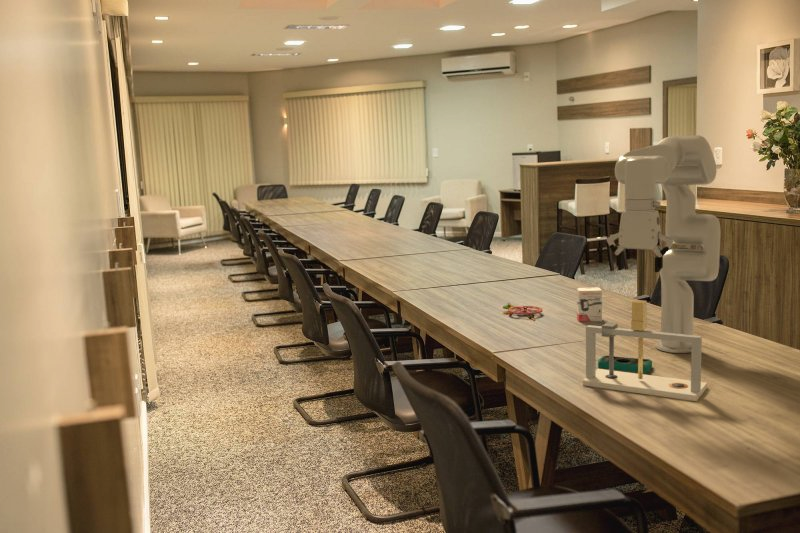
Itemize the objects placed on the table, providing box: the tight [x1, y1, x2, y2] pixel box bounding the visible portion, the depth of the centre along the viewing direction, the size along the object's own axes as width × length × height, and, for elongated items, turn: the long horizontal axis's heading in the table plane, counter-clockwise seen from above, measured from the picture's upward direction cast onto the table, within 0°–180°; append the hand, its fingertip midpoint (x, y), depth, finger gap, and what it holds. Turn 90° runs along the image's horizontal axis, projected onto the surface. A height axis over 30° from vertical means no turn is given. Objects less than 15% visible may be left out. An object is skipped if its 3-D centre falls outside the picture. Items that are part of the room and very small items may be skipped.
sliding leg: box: [630, 299, 648, 379], centre depth 212 cm, size 4×3×22 cm
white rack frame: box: [582, 321, 708, 402], centre depth 213 cm, size 12×30×17 cm, turn 57°
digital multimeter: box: [597, 355, 653, 374], centre depth 232 cm, size 7×15×3 cm, turn 61°
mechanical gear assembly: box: [502, 302, 543, 322], centre depth 309 cm, size 30×4×15 cm
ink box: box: [576, 286, 603, 323], centre depth 291 cm, size 8×5×12 cm, turn 86°
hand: (639, 270), depth 209 cm, fingers open, 9 cm apart
